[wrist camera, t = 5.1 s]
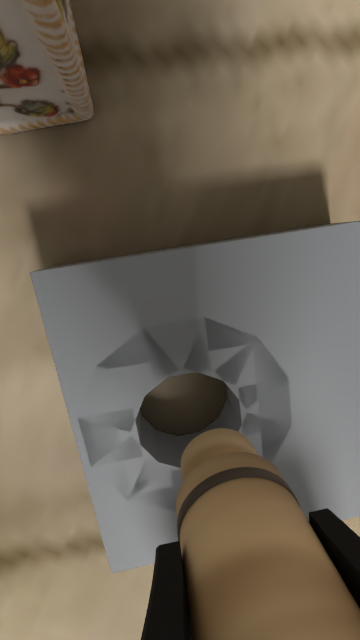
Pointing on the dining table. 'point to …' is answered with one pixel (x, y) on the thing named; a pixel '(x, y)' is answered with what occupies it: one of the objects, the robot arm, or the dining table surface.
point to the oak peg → (253, 551)
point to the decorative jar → (40, 67)
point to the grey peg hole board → (210, 368)
